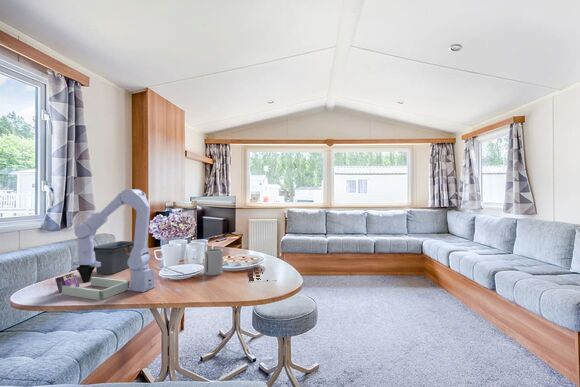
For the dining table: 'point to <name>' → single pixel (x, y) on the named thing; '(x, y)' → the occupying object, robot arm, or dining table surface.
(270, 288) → the dining table surface
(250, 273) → the chocolate bar
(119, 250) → the storage bin
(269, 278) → the dining table surface
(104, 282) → the open box
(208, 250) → the cup
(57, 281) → the game card
